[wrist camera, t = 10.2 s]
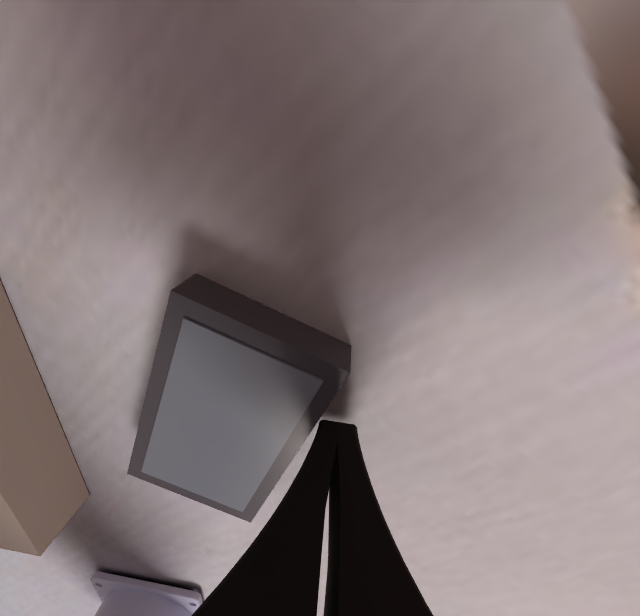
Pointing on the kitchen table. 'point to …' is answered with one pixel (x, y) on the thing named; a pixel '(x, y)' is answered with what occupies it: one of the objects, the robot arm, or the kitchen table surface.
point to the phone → (231, 397)
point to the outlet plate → (31, 450)
